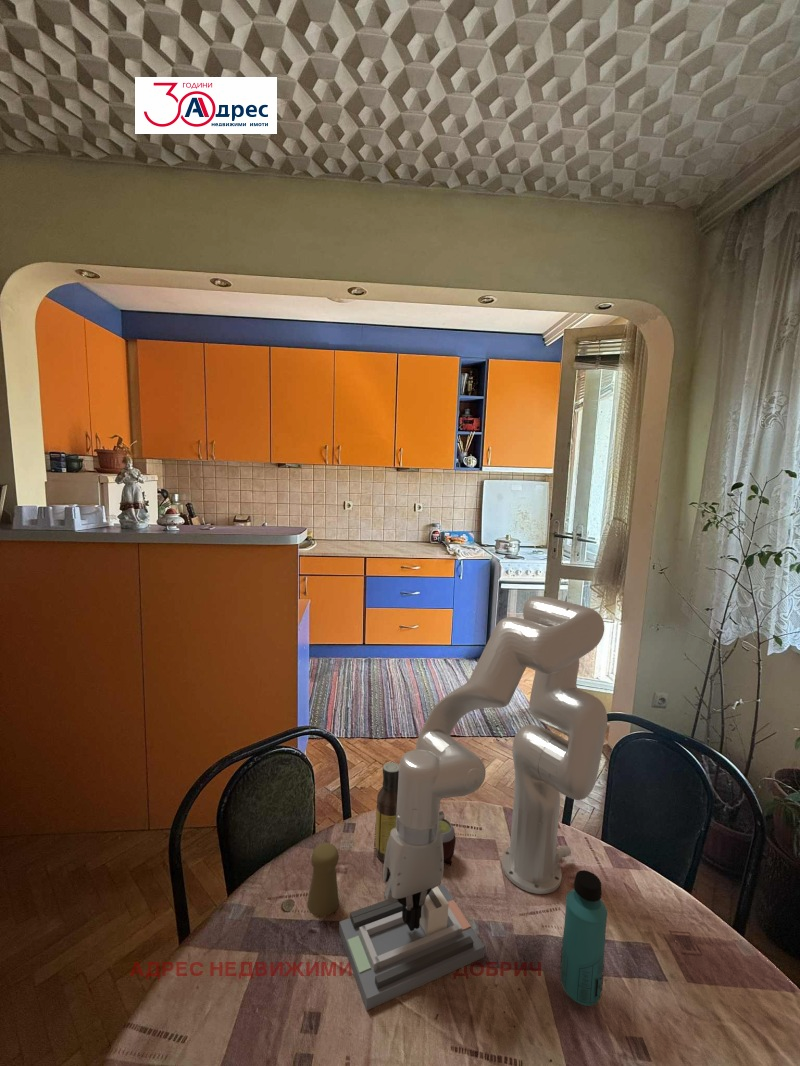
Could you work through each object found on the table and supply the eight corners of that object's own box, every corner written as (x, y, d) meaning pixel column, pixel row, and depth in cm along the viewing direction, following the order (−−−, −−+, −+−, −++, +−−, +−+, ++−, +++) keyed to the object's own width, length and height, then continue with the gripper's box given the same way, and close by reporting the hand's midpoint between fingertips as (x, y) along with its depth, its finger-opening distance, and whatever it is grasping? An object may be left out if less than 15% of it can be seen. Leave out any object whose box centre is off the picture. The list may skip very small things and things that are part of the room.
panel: (443, 893, 93) (444, 878, 93) (483, 957, 80) (485, 940, 80) (338, 931, 83) (339, 915, 83) (366, 1010, 71) (367, 991, 71)
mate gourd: (457, 854, 104) (461, 790, 103) (447, 880, 96) (452, 811, 95) (426, 843, 106) (430, 781, 105) (414, 867, 99) (418, 801, 98)
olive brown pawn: (332, 919, 86) (335, 864, 85) (302, 912, 87) (304, 857, 86) (342, 893, 92) (345, 840, 91) (314, 886, 93) (316, 835, 92)
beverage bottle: (597, 1025, 70) (608, 903, 69) (553, 999, 74) (563, 882, 73) (603, 988, 76) (614, 874, 75) (562, 965, 80) (571, 856, 78)
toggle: (435, 911, 86) (437, 884, 86) (446, 929, 82) (448, 902, 82) (416, 918, 84) (418, 891, 84) (427, 937, 81) (429, 909, 80)
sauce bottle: (408, 854, 103) (413, 768, 101) (387, 868, 98) (392, 779, 97) (388, 837, 107) (393, 756, 106) (368, 851, 103) (372, 766, 102)
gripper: (443, 801, 87) (437, 893, 88) (369, 821, 80) (364, 919, 82) (464, 828, 80) (458, 926, 81) (386, 851, 74) (380, 958, 75)
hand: (411, 922), depth 82 cm, fingers closed
